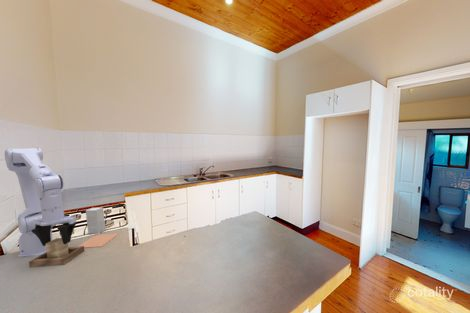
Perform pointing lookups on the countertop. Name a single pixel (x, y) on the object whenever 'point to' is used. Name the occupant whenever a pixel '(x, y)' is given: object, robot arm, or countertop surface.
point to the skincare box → (95, 220)
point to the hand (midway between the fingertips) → (56, 243)
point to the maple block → (56, 248)
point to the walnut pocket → (44, 261)
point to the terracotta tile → (98, 240)
